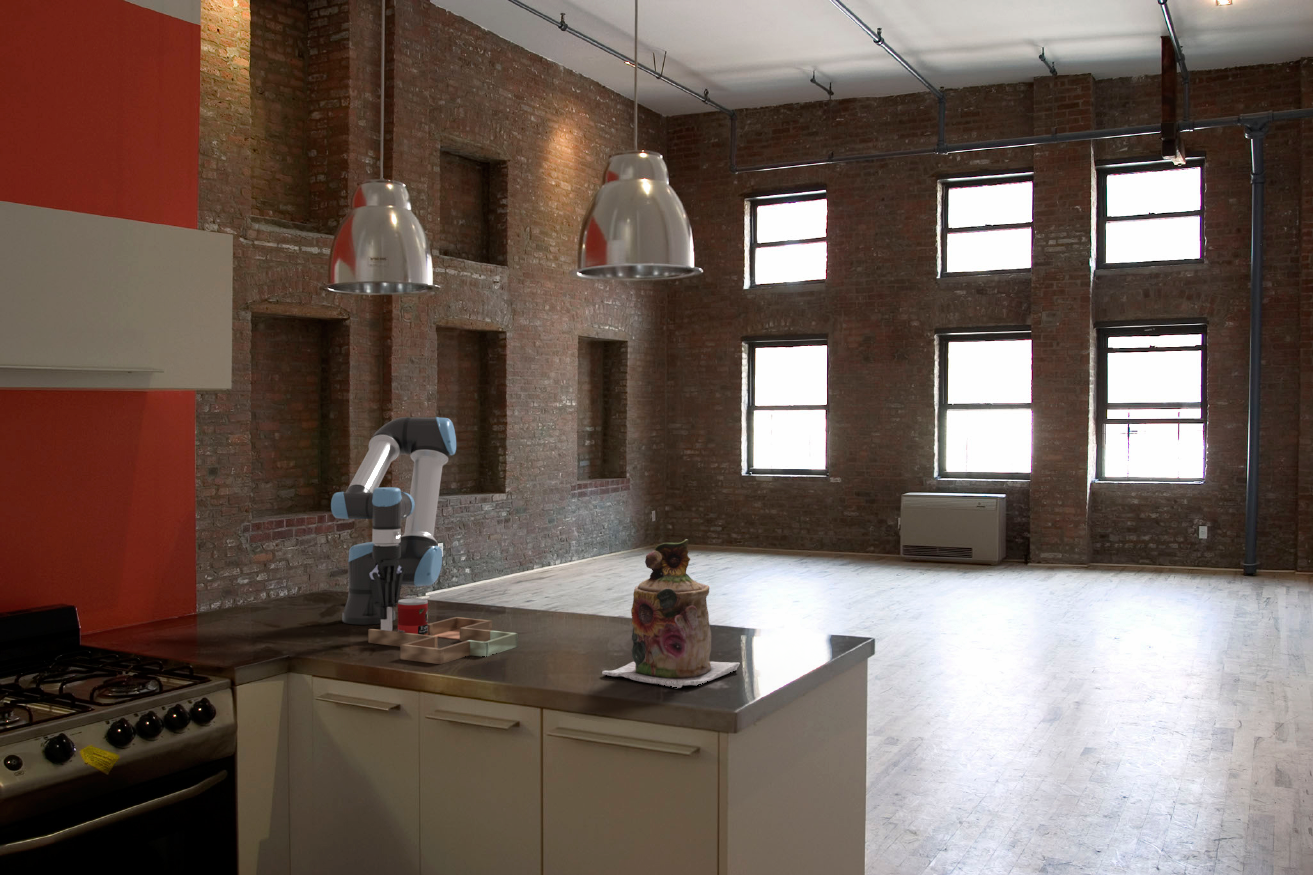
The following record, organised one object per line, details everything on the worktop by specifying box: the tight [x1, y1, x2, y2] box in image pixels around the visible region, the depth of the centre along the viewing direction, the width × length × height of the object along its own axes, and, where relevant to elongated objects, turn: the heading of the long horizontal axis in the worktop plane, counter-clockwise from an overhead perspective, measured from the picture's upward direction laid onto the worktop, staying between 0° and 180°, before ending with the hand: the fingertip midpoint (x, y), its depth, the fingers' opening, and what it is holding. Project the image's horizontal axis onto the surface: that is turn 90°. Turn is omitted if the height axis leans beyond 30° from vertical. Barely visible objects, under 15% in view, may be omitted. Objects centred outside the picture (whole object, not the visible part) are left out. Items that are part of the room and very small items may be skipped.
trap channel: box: [367, 616, 519, 665], centre depth 292 cm, size 38×38×4 cm
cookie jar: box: [601, 538, 740, 689], centre depth 259 cm, size 25×25×32 cm
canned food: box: [397, 597, 429, 635], centre depth 297 cm, size 8×8×11 cm
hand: (386, 630), depth 301 cm, fingers closed
